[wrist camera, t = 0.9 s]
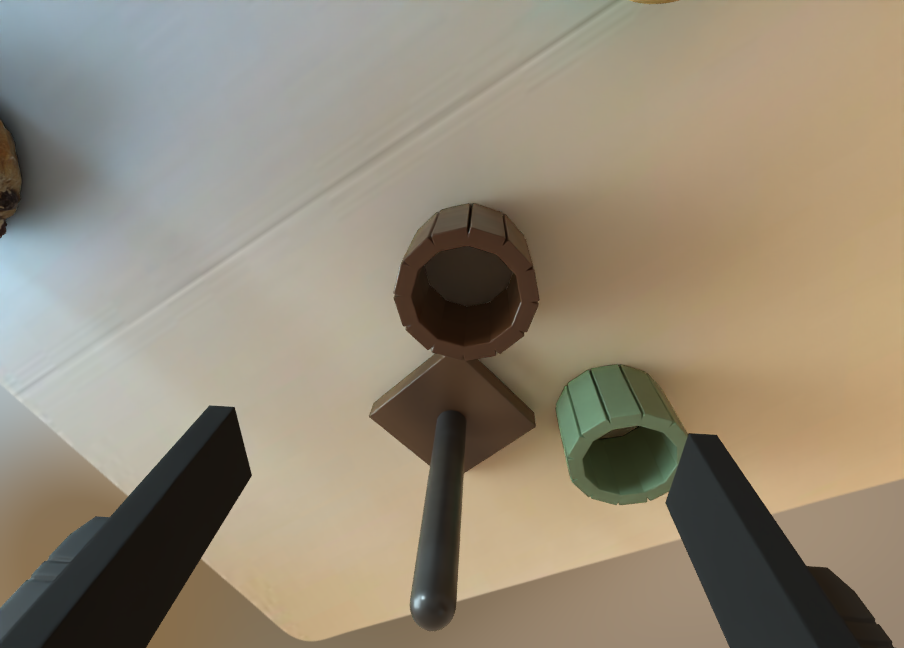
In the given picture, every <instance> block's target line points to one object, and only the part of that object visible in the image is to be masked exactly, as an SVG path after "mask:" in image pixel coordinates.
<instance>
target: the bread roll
mask: <svg viewBox="0 0 904 648" xmlns="http://www.w3.org/2000/svg"><path fill="white" fill-rule="evenodd" d="M21 184H22V178H21V172H20V168H19V164H18V157H17V154H16V151H15V141H14V139H13V137H12V134H11V133H10V132H9V131H8V130H7V129H6V128H5V127H4V125H3V123H2V121H1V120H0V238H1V237H2V235H4V234H5V233H6V226H7V223H6V219H7V218H9V217H11V216H13V215H14V213H15V212H16V209H17V208H18V203H19V201H20V199H21V198H20V191H21Z"/></svg>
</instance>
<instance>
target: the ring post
mask: <svg viewBox="0 0 904 648" xmlns="http://www.w3.org/2000/svg"><path fill="white" fill-rule="evenodd" d="M369 417H370V418H371V419H373V420H374V421H375V422H376V423H377V424H379V425H380V426H381V427H382V428H384V429H385V430H386V431H387V432H389V433H390V434H391V435H392V436H394V437H395V438H396V439H397V440H399V441H400V442H401V443H402V444H403V445H405V446H406V447H407V448H408V449H410V450H411V451H412V452H413V453H415V454H416V455H417V456H418V457H420V458H421V459H422V460H423V461H425V462H426V463H427V464H428V465H429V466H430V470H429V476H428V483H427V490H426V497H425V503H424V510H423V517H422V524H421V530H420V537H419V544H418V551H417V557H416V564H415V571H414V577H413V584H412V591H411V598H410V611H411V614H412V617H413V619H414V621H415V622H416V623H417V624H418V625H419V626H420V627H421V628H423V629H425V630H427V631H437V630H440V629H442V628H444V627H445V626H447V625H448V624H449V623H450V621H451V620H452V618H453V616H454V613H455V610H456V599H457V582H458V564H459V547H460V529H461V512H462V494H463V477H464V473H465V472H467V471H468V470H470V469H471V468H473V467H474V466H476V465H477V464H479V463H481V462H482V461H484V460H485V459H487V458H488V457H490V456H491V455H493V454H494V453H496V452H498V451H499V450H501V449H502V448H504V447H505V446H507V445H508V444H510V443H512V442H513V441H515V440H516V439H518V438H519V437H521V436H522V435H524V434H525V433H527V432H529V431H530V430H532V429H533V428H535V427H536V423H535V416H534V412H533V411H532V410H531V409H530V408H528V407H527V406H526V405H525V404H524V403H523V402H522V401H521V400H520V399H519V398H518V397H517V396H516V395H515V394H514V393H513V392H512V391H511V390H510V389H508V388H507V387H506V386H505V385H504V384H503V383H502V382H501V381H500V380H499V379H498V378H497V377H496V376H495V375H494V374H493V373H492V372H491V371H489V370H488V369H487V368H486V367H485V366H484V365H483V364H482V363H481V362H480V361H479V360H478V359H474V360H468V361H465V359H464V356H463V359H462V360H457V359H454V358H450V357H447V356H443V355H440V354H434V355H433V356H432V357H431V358H429V359H428V360H427V361H426V362H424V363H423V364H422V365H421V366H419V367H418V368H417V369H416V370H414V371H413V372H412V373H411V374H409V375H408V376H407V377H406V378H404V379H403V380H402V381H401V382H399V383H398V384H397V385H396V386H394V387H393V388H392V389H391V390H390V391H388V392H387V393H386V394H385V395H383V396H382V397H381V398H380V399H378V400H377V401H376V402H375V403H374V404H373V406H372V409H371V412H370V415H369Z"/></svg>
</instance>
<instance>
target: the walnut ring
mask: <svg viewBox="0 0 904 648" xmlns="http://www.w3.org/2000/svg"><path fill="white" fill-rule="evenodd" d="M464 246H470V247H473V248H477V249H480V250H483V251H487V252H490V253H493V254H496V255H497V256H498V257H499V258H500V259H501V260H502V261H503V262H504V263H505V264H506V265H507V266H508V267H509V269H510V270H511V271H512V272H513V274H512V276H511V279H510V281H509V284H508V287H507V288H506V289H505V290H504V291H503V292H501V293H500V294H499V295H498V296H496V297H495V298H494V299H493V300H491V301H490V302H487V303H482V304H477V305H472V306H464V305H461V304H457V303H454V302H450V301H447V300H445V299H444V298H443V297H442V296H441V295H440V294H439V293H438V292H437V291H436V290H435V289H434V288H433V287H432V286H431V285H430V284H429V280H428V277H427V273H426V270H425V266H424V265H425V264H426V263H427V262H428V261H430V260H431V259H432V258H433V257H434V256H435V255H436V254H437V253H438V252H441V251H446V250H450V249H455V248H459V247H464ZM394 294H395V296H394V301H395V304H396V307H397V310H398V313H399V316H400V319H401V322H402V325H403V326H406V331H407V332H408V333H410V334H411V335H412V336H413V337H414V338H415V339H416V340H417V341H418V342H419V343H421V344H422V345H423V346H424V347H425V348H426V349H427V350H429V349H430V348H432V350H431V351H432V352H433V353H436V354H440V355H443V356H447V357H450V358H454V359H457V360H462V359H463V356H464V359H465V361H468V360H474V359H480V358H486V357H491V356H496V351H497V352H498V353H499V354H501V353H502V352H503V351H505V350H506V349H507V348H509V347H510V346H511V345H513V344H514V343H515V342H517V341H518V340H519V339H521V338H522V337H523V336H524V332H527V331H528V329H529V327H530V324H531V322H532V320H533V317H534V315H535V312H536V310H537V308H538V305H539V303H538V301H539V300H540V299H539V294H538V288H537V282H536V276H535V270H534V266H533V263H532V259H531V256H530V252H529V248H528V245H527V241H526V239H525V237H524V235H523V233H522V232H521V231H520V230H519V229H518V228H517V227H516V226H515V224H514V223H513V222H512V221H511V220H510V219H509V218H508V217H507V216H506V214H504V215H503V216H502V212H500V211H497V210H494V209H491V208H487V207H484V206H481V205H478V204H474V203H473V205H472V208H471V205H470V204H469V203H468V204H464V205H459V206H455V207H451V208H447V209H442V210H441V211H440V213H438V212H437V213H435V214H434V215H433V216H432V217H431V218H430V219H429V220H428V221H427V222H426V223H425V224H424V225H423V226H422V227H421V228H420V229H419V230H418V231H417V233H416V234H415V236H414V238H413V240H412V242H411V244H410V246H409V248H408V250H407V252H406V254H405V256H404V258H403V260H402V262H401V264H400V268H399V272H398V276H397V281H396V285H395V289H394Z"/></svg>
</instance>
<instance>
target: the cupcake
mask: <svg viewBox="0 0 904 648" xmlns="http://www.w3.org/2000/svg"><path fill="white" fill-rule="evenodd" d="M630 1H633V2H638V3H646V4H661V3H669V2H674V1H679V0H630Z"/></svg>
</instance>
